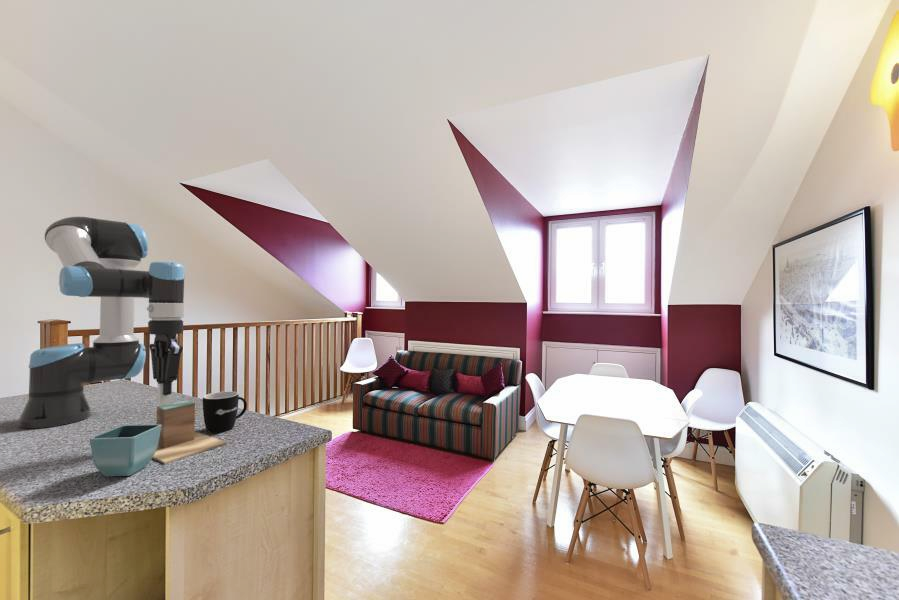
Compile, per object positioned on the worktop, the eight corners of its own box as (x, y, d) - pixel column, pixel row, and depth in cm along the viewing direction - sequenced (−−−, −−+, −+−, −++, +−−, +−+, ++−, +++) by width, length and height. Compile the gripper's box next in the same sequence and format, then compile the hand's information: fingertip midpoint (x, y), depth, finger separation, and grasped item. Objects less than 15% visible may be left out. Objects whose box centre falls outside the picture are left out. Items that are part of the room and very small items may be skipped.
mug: (211, 437, 101) (212, 400, 101) (196, 430, 105) (196, 395, 106) (254, 425, 111) (254, 391, 111) (238, 419, 116) (239, 388, 116)
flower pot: (121, 463, 84) (122, 424, 84) (162, 462, 84) (162, 423, 85) (86, 482, 75) (87, 438, 75) (132, 480, 76) (133, 437, 76)
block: (155, 445, 93) (156, 406, 93) (186, 437, 99) (187, 400, 99) (163, 448, 91) (164, 408, 91) (194, 439, 97) (195, 402, 97)
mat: (130, 448, 92) (130, 446, 92) (191, 431, 104) (191, 430, 104) (164, 464, 83) (164, 461, 83) (226, 444, 96) (226, 442, 96)
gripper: (138, 319, 98) (136, 406, 98) (161, 320, 92) (159, 413, 92) (170, 318, 105) (168, 400, 105) (194, 319, 99) (192, 406, 98)
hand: (164, 406), depth 98 cm, fingers closed
